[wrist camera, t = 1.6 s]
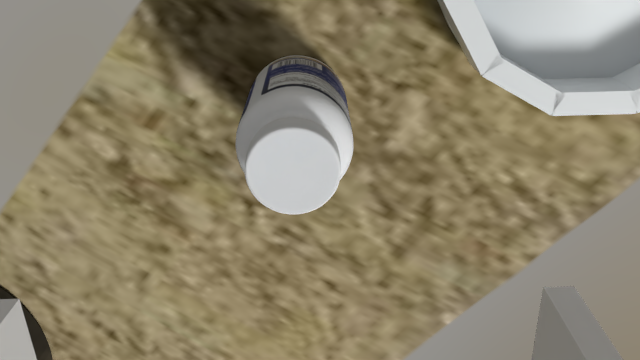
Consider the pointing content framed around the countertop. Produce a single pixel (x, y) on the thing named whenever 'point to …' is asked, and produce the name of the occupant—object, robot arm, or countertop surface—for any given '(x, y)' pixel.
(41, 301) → the countertop surface
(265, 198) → the pill bottle
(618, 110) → the dish
